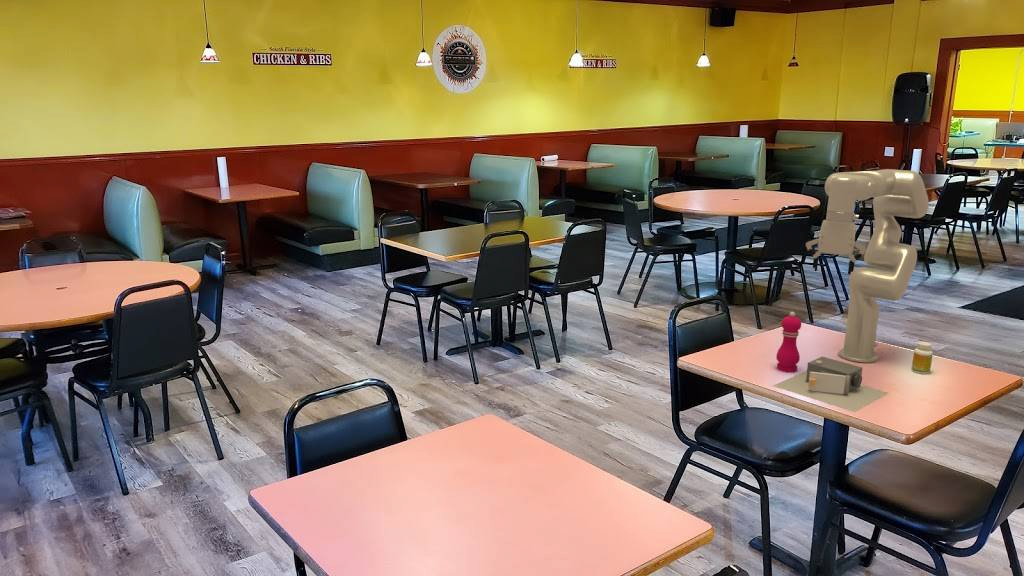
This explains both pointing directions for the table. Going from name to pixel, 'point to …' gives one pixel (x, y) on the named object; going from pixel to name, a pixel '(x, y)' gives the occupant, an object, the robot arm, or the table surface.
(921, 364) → the supplement bottle
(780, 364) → the pepper mill
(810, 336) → the table surface
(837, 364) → the camera body
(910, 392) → the table surface
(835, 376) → the side door
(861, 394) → the mat
